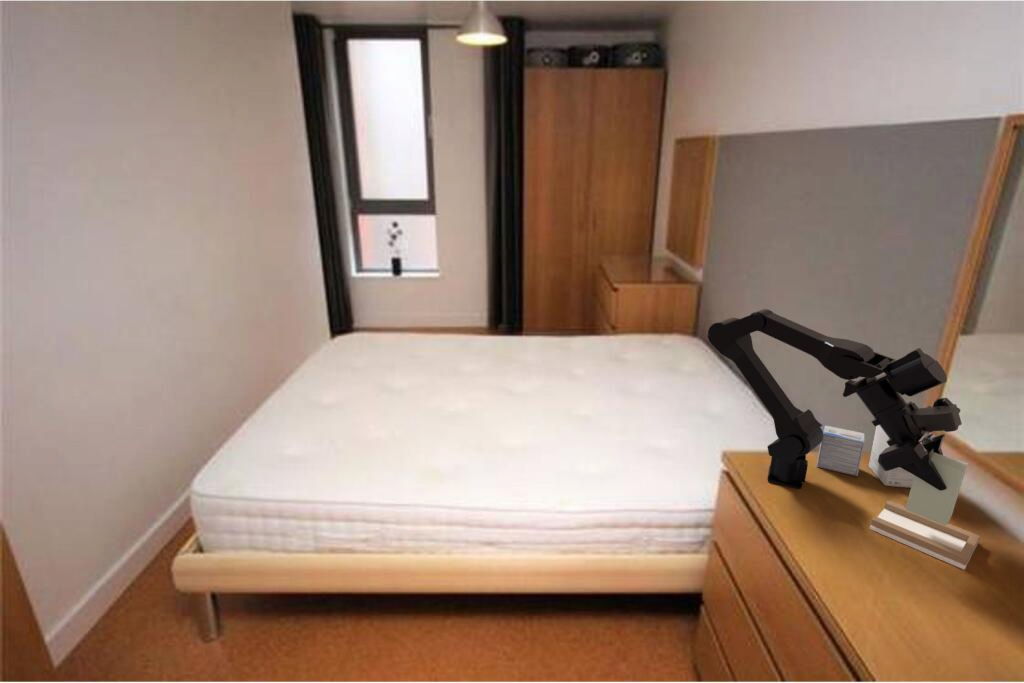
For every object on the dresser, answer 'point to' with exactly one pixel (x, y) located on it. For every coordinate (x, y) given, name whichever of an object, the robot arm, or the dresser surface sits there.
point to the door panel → (937, 491)
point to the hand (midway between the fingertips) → (946, 485)
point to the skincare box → (891, 477)
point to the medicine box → (841, 450)
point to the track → (926, 534)
